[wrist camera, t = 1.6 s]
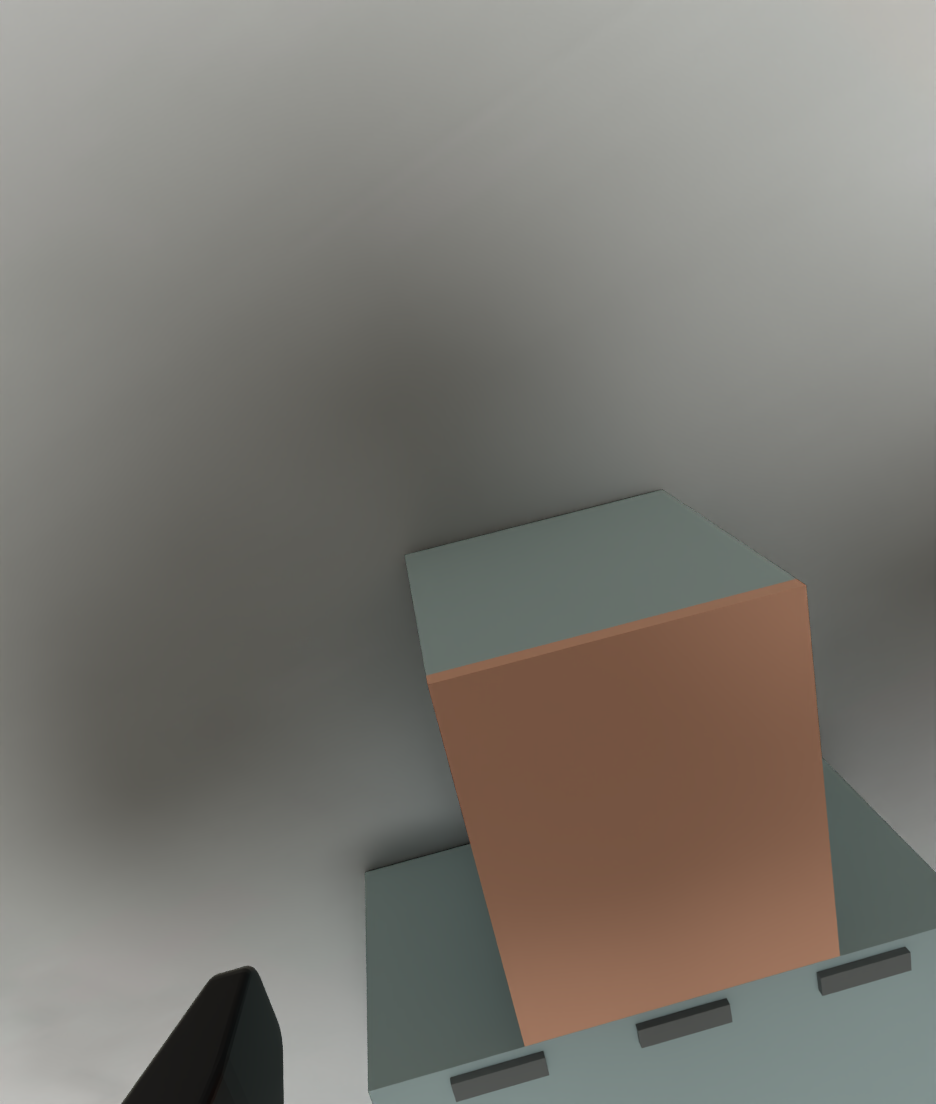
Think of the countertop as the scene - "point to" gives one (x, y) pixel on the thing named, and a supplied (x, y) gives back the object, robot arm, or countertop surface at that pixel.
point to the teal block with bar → (671, 1031)
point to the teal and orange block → (630, 756)
